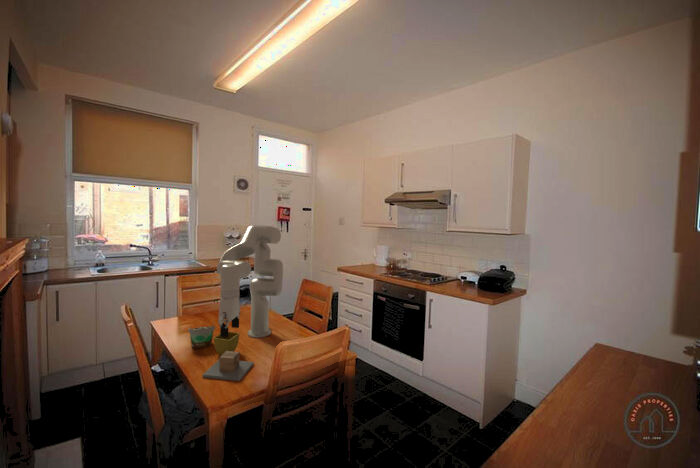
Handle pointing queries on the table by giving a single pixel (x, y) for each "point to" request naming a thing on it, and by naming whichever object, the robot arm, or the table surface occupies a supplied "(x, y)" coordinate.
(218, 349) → the flower pot
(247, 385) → the table surface
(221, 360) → the walnut cube
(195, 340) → the food container
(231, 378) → the slate board
